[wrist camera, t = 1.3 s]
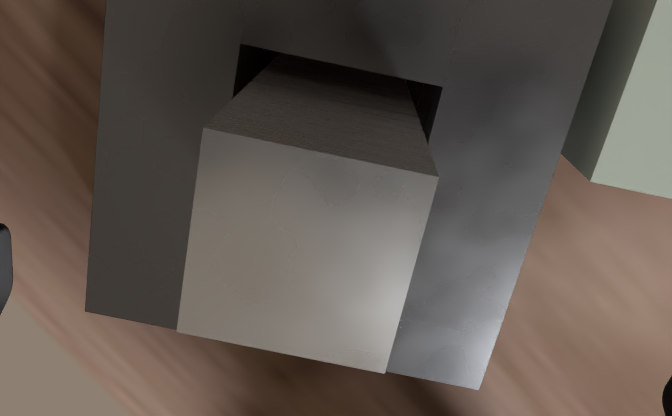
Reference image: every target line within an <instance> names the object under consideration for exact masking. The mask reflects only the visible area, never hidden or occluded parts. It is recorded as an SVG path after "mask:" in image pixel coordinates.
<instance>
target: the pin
mask: <svg viewBox="0 0 672 416" xmlns="http://www.w3.org/2000/svg"><path fill="white" fill-rule="evenodd" d="M438 180H439V175H438V172H437V169H436V167H435V164H434V161H433V158H432V155H431V152H430V149H429V146H428V144H427V141H426V138H425V135H424V132H423V129H422V126H421V124H420V121H419V118H418V115H417V112H416V109H415V106H414V103H413V101H412V98H411V95H410V92H409V89H408V86H407V83H406V80H405V79H401V78H396V77H392V76H387V75H382V74H378V73H373V72H368V71H364V70H359V69H354V68H350V67H345V66H340V65H336V64H331V63H326V62H322V61H317V60H312V59H308V58H303V57H298V56H294V55H289V54H284V53H279V54H278V55H277V56H276V57H275V58H274V59H273V60H272V61H271V62H270V63H269V64H268V65H267V66H266V67H265V68H264V69H263V70H262V71H261V72H260V73H259V74H258V75H257V76H256V77H255V78H254V79H253V80H252V81H251V82H250V83H249V84H248V85H247V86H245V87H244V88H243V89H242V90H241V91H240V92H239V93H238V94H237V95H236V96H235V97H234V98H233V99H232V100H231V101H230V102H229V103H228V104H227V105H226V106H225V107H224V108H223V109H222V110H221V111H220V112H219V113H218V114H217V115H216V116H215V117H214V118H213V119H212V120H210V121H209V122H208V123H207V124H206V125H205V126H204V127H203V132H202V140H201V148H200V155H199V163H198V171H197V178H196V186H195V194H194V201H193V209H192V216H191V224H190V232H189V239H188V247H187V255H186V262H185V270H184V278H183V285H182V293H181V301H180V308H179V316H178V323H177V331H176V332H178V333H183V334H188V335H193V336H198V337H203V338H208V339H213V340H218V341H223V342H228V343H233V344H238V345H243V346H248V347H253V348H258V349H263V350H268V351H273V352H278V353H283V354H288V355H293V356H298V357H303V358H308V359H313V360H318V361H323V362H328V363H333V364H338V365H343V366H348V367H353V368H358V369H363V370H368V371H373V372H378V373H383V374H385V371H386V367H387V364H388V360H389V357H390V353H391V349H392V346H393V342H394V339H395V335H396V331H397V328H398V324H399V320H400V317H401V313H402V310H403V306H404V302H405V299H406V295H407V292H408V288H409V284H410V281H411V277H412V274H413V270H414V266H415V263H416V259H417V256H418V252H419V248H420V245H421V241H422V237H423V234H424V230H425V227H426V223H427V219H428V216H429V212H430V209H431V205H432V201H433V198H434V194H435V191H436V187H437V183H438Z"/></svg>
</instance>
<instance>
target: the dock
mask: <svg viewBox="0 0 672 416" xmlns="http://www.w3.org/2000/svg"><path fill="white" fill-rule="evenodd" d="M561 154H562V155H563V156H564V157H565V158H566V159H567V160H568V161H569V162H570V163H571V164H572V165H573V166H574V167H575V168H577V169H578V170H579V171H580V172H581V173H582V174H583V175H584V176H585V177H586V178H587V179H588V180H589V181H590V182H595V183H599V184H604V185H609V186H614V187H618V188H623V189H628V190H633V191H637V192H642V193H647V194H652V195H656V196H661V197H666V198H670V199H672V0H613V3H612V6H611V8H610V11H609V14H608V17H607V20H606V23H605V26H604V29H603V32H602V35H601V37H600V40H599V43H598V46H597V49H596V52H595V55H594V58H593V61H592V63H591V66H590V69H589V72H588V75H587V78H586V81H585V84H584V87H583V90H582V92H581V95H580V98H579V101H578V104H577V107H576V110H575V113H574V116H573V119H572V121H571V124H570V127H569V130H568V133H567V136H566V139H565V142H564V145H563V148H562V150H561Z"/></svg>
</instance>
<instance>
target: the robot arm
mask: <svg viewBox="0 0 672 416" xmlns="http://www.w3.org/2000/svg"><path fill="white" fill-rule="evenodd" d="M12 284H13V267H12V249H11V235H10V231H9V229H8V227H7V226H6V225H4V224H2V223H0V314H1V313H2V310H3V308H4V306H5V304H6V302H7V300H8V298H9V296H10V293H11V289H12ZM662 403H663V408H664V412H665V416H672V376H671V378H670V379H669V381H668V382H667V384H666V386H665V388H664V391H663V396H662Z"/></svg>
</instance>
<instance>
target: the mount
mask: <svg viewBox="0 0 672 416" xmlns="http://www.w3.org/2000/svg"><path fill="white" fill-rule="evenodd" d="M612 3H613V0H106V13H105V27H104V42H103V56H102V71H101V85H100V100H99V114H98V129H97V143H96V158H95V172H94V187H93V201H92V216H91V230H90V245H89V259H88V274H87V288H86V303H85V311H86V312H91V313H96V314H101V315H106V316H111V317H116V318H121V319H126V320H131V321H136V322H141V323H146V324H151V325H156V326H161V327H166V328H171V329H176V330H177V323H178V316H179V308H180V301H181V293H182V285H183V278H184V270H185V262H186V255H187V247H188V239H189V232H190V224H191V216H192V209H193V201H194V194H195V186H196V178H197V171H198V163H199V155H200V148H201V140H202V132H203V127H204V126H205V125H206V124H207V123H208V122H209V121H210V120H212V119H213V118H214V117H215V116H216V115H217V114H218V113H219V112H220V111H221V110H222V109H223V108H224V107H225V106H226V105H227V104H228V103H229V102H230V101H231V100H232V99H233V98H234V97H235V96H236V95H237V94H238V93H239V92H240V91H241V90H242V89H243V88H244V87H245V86H247V85H248V84H249V83H250V82H251V81H252V80H253V79H254V78H255V77H256V76H257V73H258V67H259V60H260V54H261V48H263V49H268V50H273V51H277V52H282V53H287V54H291V55H296V56H301V57H305V58H310V59H315V60H319V61H324V62H329V63H333V64H338V65H343V66H347V67H352V68H357V69H361V70H366V71H371V72H375V73H380V74H385V75H389V76H394V77H399V78H403V79H408V80H413V81H417V82H422V83H424V85H423V89H422V93H421V97H420V100H419V104H418V108H417V115H418V118H419V121H420V124H421V126H422V129H423V132H424V135H425V138H426V141H427V144H428V146H429V149H430V152H431V155H432V158H433V161H434V164H435V167H436V169H437V172H438V175H439V180H438V183H437V187H436V191H435V194H434V198H433V201H432V205H431V209H430V212H429V216H428V219H427V223H426V227H425V230H424V234H423V237H422V241H421V245H420V248H419V252H418V256H417V259H416V263H415V266H414V270H413V274H412V277H411V281H410V284H409V288H408V292H407V295H406V299H405V302H404V306H403V310H402V313H401V317H400V320H399V324H398V328H397V331H396V335H395V339H394V342H393V346H392V349H391V353H390V357H389V360H388V364H387V367H386V372H391V373H396V374H401V375H406V376H411V377H416V378H421V379H426V380H431V381H436V382H441V383H446V384H451V385H456V386H461V387H466V388H471V389H476V390H479V388H480V385H481V382H482V379H483V376H484V373H485V371H486V368H487V365H488V362H489V359H490V356H491V353H492V350H493V347H494V345H495V342H496V339H497V336H498V333H499V330H500V327H501V324H502V321H503V318H504V316H505V313H506V310H507V307H508V304H509V301H510V298H511V295H512V292H513V289H514V287H515V284H516V281H517V278H518V275H519V272H520V269H521V266H522V263H523V260H524V258H525V255H526V252H527V249H528V246H529V243H530V240H531V237H532V234H533V232H534V229H535V226H536V223H537V220H538V217H539V214H540V211H541V208H542V205H543V203H544V200H545V197H546V194H547V191H548V188H549V185H550V182H551V179H552V176H553V174H554V171H555V168H556V165H557V162H558V159H559V156H560V153H561V150H562V148H563V145H564V142H565V139H566V136H567V133H568V130H569V127H570V124H571V121H572V119H573V116H574V113H575V110H576V107H577V104H578V101H579V98H580V95H581V92H582V90H583V87H584V84H585V81H586V78H587V75H588V72H589V69H590V66H591V63H592V61H593V58H594V55H595V52H596V49H597V46H598V43H599V40H600V37H601V35H602V32H603V29H604V26H605V23H606V20H607V17H608V14H609V11H610V8H611V6H612Z"/></svg>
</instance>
